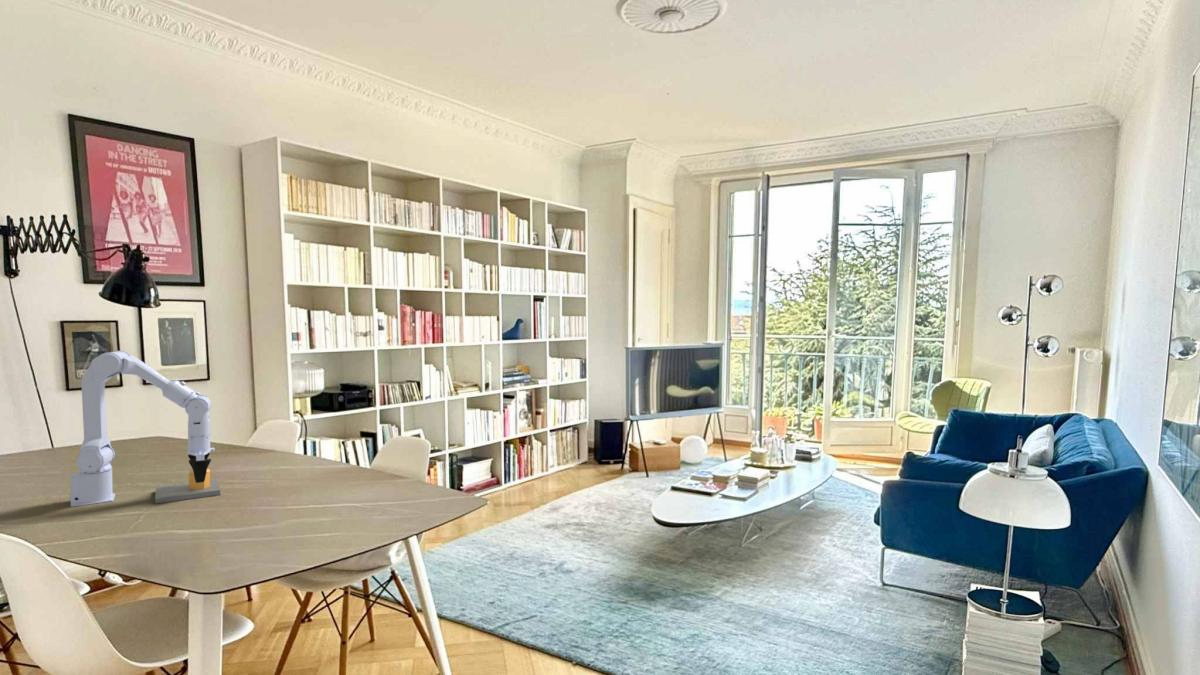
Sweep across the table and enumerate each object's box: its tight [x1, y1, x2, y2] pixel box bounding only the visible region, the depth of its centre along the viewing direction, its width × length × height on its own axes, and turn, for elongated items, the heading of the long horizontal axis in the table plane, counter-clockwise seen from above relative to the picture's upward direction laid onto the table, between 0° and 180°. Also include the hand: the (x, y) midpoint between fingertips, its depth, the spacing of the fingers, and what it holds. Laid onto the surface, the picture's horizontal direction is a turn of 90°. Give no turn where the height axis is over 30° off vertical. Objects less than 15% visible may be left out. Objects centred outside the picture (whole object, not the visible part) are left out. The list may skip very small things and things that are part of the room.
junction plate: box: [154, 478, 221, 504], centre depth 186 cm, size 16×14×4 cm
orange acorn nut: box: [188, 468, 211, 490], centre depth 188 cm, size 5×5×5 cm
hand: (199, 479), depth 187 cm, fingers open, 7 cm apart
